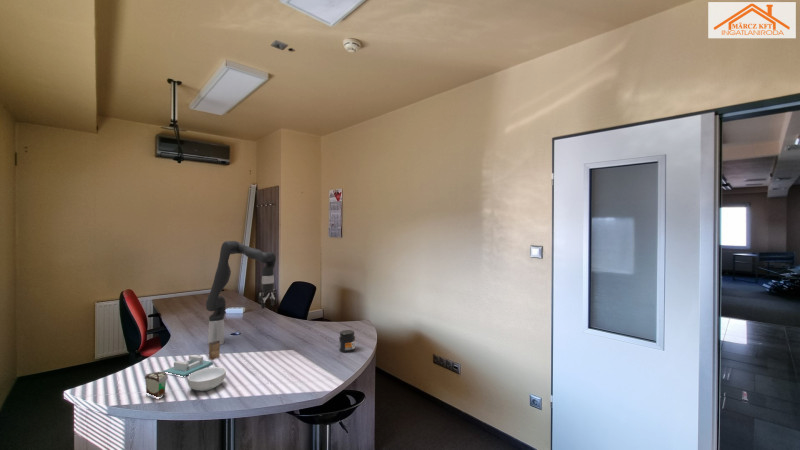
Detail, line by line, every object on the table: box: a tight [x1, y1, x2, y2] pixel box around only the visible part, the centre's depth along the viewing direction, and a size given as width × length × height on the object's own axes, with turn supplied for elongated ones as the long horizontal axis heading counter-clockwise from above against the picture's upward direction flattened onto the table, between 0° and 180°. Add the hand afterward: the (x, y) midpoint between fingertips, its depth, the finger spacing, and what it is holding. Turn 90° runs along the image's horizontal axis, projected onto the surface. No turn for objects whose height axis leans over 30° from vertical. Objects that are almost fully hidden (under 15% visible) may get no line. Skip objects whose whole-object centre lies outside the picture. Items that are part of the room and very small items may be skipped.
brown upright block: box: [208, 340, 221, 361], centre depth 203 cm, size 3×5×10 cm, turn 161°
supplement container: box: [338, 329, 356, 354], centre depth 213 cm, size 10×10×12 cm
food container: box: [144, 371, 169, 397], centre depth 157 cm, size 12×6×10 cm, turn 65°
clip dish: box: [162, 354, 214, 378], centre depth 186 cm, size 16×18×6 cm
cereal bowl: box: [187, 366, 227, 392], centre depth 164 cm, size 17×17×7 cm
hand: (267, 306), depth 213 cm, fingers open, 8 cm apart
